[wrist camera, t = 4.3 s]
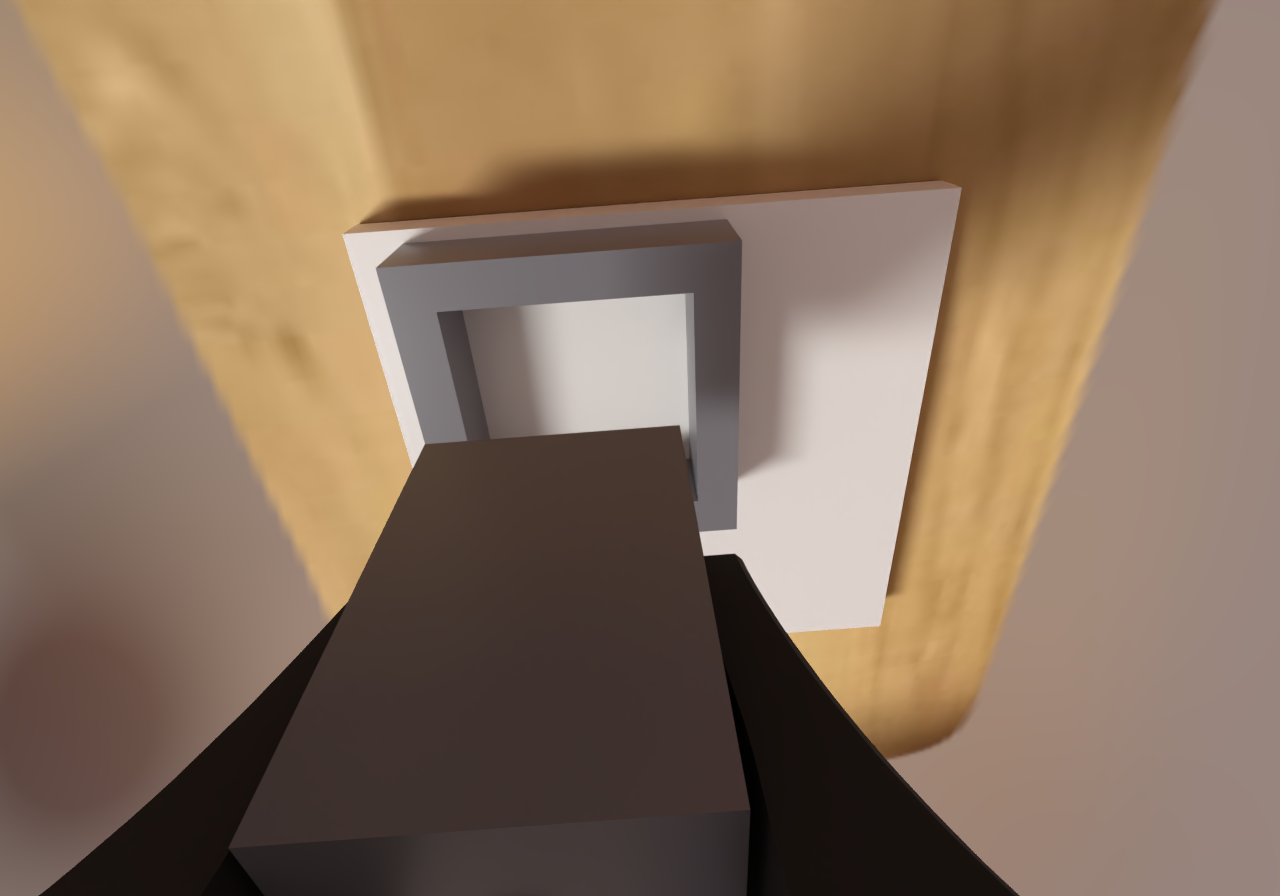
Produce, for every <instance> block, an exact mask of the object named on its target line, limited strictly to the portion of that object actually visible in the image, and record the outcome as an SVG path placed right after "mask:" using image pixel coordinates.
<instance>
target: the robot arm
mask: <svg viewBox="0 0 1280 896" xmlns="http://www.w3.org/2000/svg"><path fill="white" fill-rule="evenodd" d="M704 560H705V566H706V571H707V577H708V582H709V588H710V593H711V599H712V604H713V609H714V615H715V620H716V626H717V631H718V637H719V642H720V647H721V653H722V658H723V664H724V669H725V675H726V680H727V686H728V691H729V696H730V702H731V707H732V713H733V718H734V724H735V729H736V734H737V740H738V745H739V751H740V756H741V762H742V767H743V773H744V778H745V783H746V789H747V794H748V800H749V805H750V829H749V851H748V872H747V894H746V896H1019V895H1018V894H1017V893H1016V892H1015V891H1014V890H1013V889H1012V888H1011V887H1009V885H1007V884H1006V883H1005V882H1004V881H1003V880H1002V879H1001V878H1000V877H999V876H998V875H997V874H996V873H994V871H993V870H991V869H990V868H989V867H988V866H987V865H986V864H985V863H984V862H983V861H982V860H981V859H980V858H979V857H978V856H977V855H976V854H975V853H974V852H973V851H972V850H971V849H970V848H969V847H968V846H967V845H966V844H965V843H964V842H963V841H962V840H961V839H960V838H959V837H958V836H957V835H956V834H955V833H954V832H953V831H952V830H951V829H950V828H949V827H948V826H947V825H946V823H945V822H943V820H942V819H941V818H940V817H939V816H938V815H937V814H936V813H935V812H934V811H933V810H932V809H931V808H930V807H929V806H928V805H927V804H926V803H925V802H924V801H923V799H922V798H921V797H920V796H919V795H918V794H917V793H916V792H915V791H914V790H913V789H912V788H911V787H910V785H909V784H908V783H907V782H906V781H905V780H904V779H903V778H902V777H901V776H900V775H899V774H898V772H897V771H896V770H895V769H894V768H893V767H892V766H891V764H890V763H889V762H888V761H887V760H886V759H885V758H884V757H883V755H882V754H881V753H880V752H879V751H878V750H877V748H876V747H875V746H874V745H873V744H872V743H871V741H870V740H869V739H868V738H867V737H866V736H865V734H864V733H863V732H862V731H861V730H860V728H859V727H858V726H857V725H856V723H855V722H854V721H853V720H852V719H851V717H850V716H849V715H848V714H847V713H846V711H845V710H844V709H843V708H842V706H841V705H840V704H839V703H838V701H837V700H836V699H835V698H834V696H833V695H832V694H831V692H830V691H829V690H828V689H827V687H826V686H825V685H824V683H823V682H822V681H821V680H820V678H819V677H818V675H817V674H816V673H815V671H814V670H813V669H812V667H811V666H810V665H809V663H808V662H807V660H806V659H805V658H804V656H803V655H802V654H801V652H800V651H799V650H798V648H797V647H796V645H795V644H794V643H793V641H792V640H791V638H790V637H789V635H788V634H787V633H786V631H785V630H784V628H783V627H782V625H781V624H780V622H779V621H778V619H777V618H776V616H775V615H774V613H773V612H772V610H771V608H770V607H769V605H768V604H767V602H766V601H765V599H764V597H763V596H762V594H761V592H760V591H759V589H758V587H757V586H756V584H755V582H754V581H753V579H752V577H751V575H750V573H749V572H748V570H747V568H746V566H745V564H744V562H743V560H742V559H741V558H740V557H739V556H737V555H736V554H722V555H709V556H704ZM347 603H348V602H347ZM346 605H347V604H346ZM346 605H345V606H344V607H343V608H342V609H341V610H340V611H339V612H338V613H337V614H336V615H335V616H334V617H333V619H332V620H331V621H330V622H329V623H328V624H327V625H326V626H325V627H324V628H323V629H322V630H321V631H320V633H319V634H318V635H317V636H316V637H315V638H314V639H313V640H312V641H311V642H310V643H309V644H308V645H307V646H306V648H305V649H304V650H303V651H302V652H301V653H300V654H299V655H298V656H297V657H296V658H295V659H294V660H293V661H292V662H291V663H290V664H289V666H288V667H286V669H285V670H284V671H283V672H282V673H281V674H280V675H279V676H278V677H277V678H276V679H275V680H274V681H273V682H272V683H271V684H270V685H269V686H268V687H267V688H266V689H265V690H264V691H263V693H262V694H261V695H260V696H259V697H258V698H257V699H256V700H255V701H254V702H253V703H252V704H251V705H250V706H249V707H248V708H247V709H246V710H245V711H244V712H243V713H242V714H241V715H240V716H239V717H238V718H237V719H236V720H235V721H234V722H233V723H232V724H231V725H229V726H228V727H227V728H226V729H225V730H224V731H223V732H222V733H221V734H220V735H219V736H218V737H217V738H216V739H215V740H214V741H213V742H212V743H211V744H210V745H209V746H208V747H207V748H206V749H205V750H204V751H203V752H202V753H201V754H199V756H197V758H195V759H194V760H193V761H192V762H191V763H190V764H189V765H188V766H187V767H186V768H185V769H184V770H183V771H182V772H181V773H180V774H179V775H178V776H177V777H176V778H175V779H174V780H173V781H172V782H171V783H169V784H168V785H167V786H166V787H165V788H164V789H163V790H162V791H161V792H160V793H158V794H157V795H156V796H155V797H154V798H153V799H152V800H151V801H150V802H148V803H147V804H146V805H145V806H144V807H143V808H142V809H141V810H140V811H138V812H137V813H136V814H135V815H134V816H133V817H132V818H131V819H129V820H128V821H127V822H126V823H125V824H124V825H123V826H121V827H120V828H119V829H118V830H117V831H116V832H114V833H113V834H112V835H111V836H110V837H109V838H107V839H106V840H105V841H104V842H103V843H102V844H100V845H99V846H98V847H97V848H96V849H94V850H93V851H92V852H91V853H90V854H89V855H88V856H86V857H85V858H84V859H83V860H82V861H81V862H79V863H78V864H77V865H76V866H75V867H74V868H72V869H71V870H70V871H69V872H67V873H66V874H65V875H64V876H63V877H61V878H60V879H59V880H58V881H57V882H56V883H54V884H53V885H52V886H51V887H50V888H48V889H47V890H46V891H44V892H43V893H42V894H40V895H39V896H264V894H263V893H262V892H261V891H260V889H259V888H258V887H257V885H256V884H255V883H254V881H253V880H252V879H251V877H250V876H249V875H248V873H247V872H246V871H245V870H244V868H243V867H242V866H241V864H240V863H239V862H238V860H237V859H236V858H235V856H234V855H233V854H232V852H231V851H230V850H229V849H228V848H229V846H230V844H231V842H232V839H233V837H234V835H235V833H236V831H237V829H238V827H239V825H240V823H241V821H242V819H243V817H244V815H245V813H246V811H247V809H248V807H249V805H250V802H251V800H252V798H253V796H254V794H255V792H256V790H257V788H258V786H259V784H260V782H261V780H262V778H263V776H264V774H265V772H266V770H267V767H268V765H269V763H270V761H271V759H272V757H273V755H274V753H275V751H276V749H277V747H278V745H279V743H280V741H281V739H282V737H283V735H284V733H285V730H286V728H287V726H288V724H289V722H290V720H291V718H292V716H293V714H294V712H295V710H296V708H297V706H298V704H299V702H300V700H301V698H302V696H303V693H304V691H305V689H306V687H307V685H308V683H309V681H310V679H311V677H312V675H313V673H314V671H315V669H316V667H317V665H318V663H319V661H320V658H321V656H322V654H323V652H324V650H325V648H326V646H327V644H328V642H329V640H330V638H331V636H332V634H333V632H334V630H335V628H336V626H337V624H338V621H339V619H340V617H341V615H342V613H343V611H344V609H345V607H346Z"/></svg>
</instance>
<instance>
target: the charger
mask: <svg viewBox="0 0 1280 896" xmlns="http://www.w3.org/2000/svg"><path fill="white" fill-rule="evenodd" d="M749 829H750V805H749V800H748V794H747V789H746V783H745V778H744V773H743V767H742V762H741V756H740V751H739V745H738V740H737V734H736V729H735V724H734V718H733V713H732V707H731V702H730V696H729V691H728V686H727V680H726V675H725V669H724V664H723V658H722V653H721V647H720V642H719V637H718V631H717V626H716V620H715V615H714V609H713V604H712V599H711V593H710V588H709V582H708V577H707V571H706V566H705V560H704V555H703V550H702V544H701V539H700V533H699V528H698V522H697V517H696V512H695V506H694V501H693V495H692V490H691V484H690V479H689V473H688V468H687V463H686V457H685V452H684V446H683V441H682V435H681V430H680V425H675V426H661V427H648V428H634V429H621V430H607V431H594V432H581V433H567V434H554V435H540V436H527V437H514V438H500V439H487V440H473V441H460V442H447V443H433V444H425V445H424V447H423V449H422V451H421V453H420V455H419V457H418V459H417V461H416V463H415V465H414V467H413V469H412V471H411V473H410V475H409V478H408V480H407V482H406V484H405V486H404V488H403V490H402V492H401V494H400V496H399V498H398V500H397V502H396V504H395V506H394V508H393V510H392V512H391V515H390V517H389V519H388V521H387V523H386V525H385V527H384V529H383V531H382V533H381V535H380V537H379V539H378V541H377V543H376V545H375V547H374V549H373V552H372V554H371V556H370V558H369V560H368V562H367V564H366V566H365V568H364V570H363V572H362V574H361V576H360V578H359V580H358V582H357V584H356V587H355V589H354V591H353V593H352V595H351V597H350V599H349V601H348V603H347V605H346V607H345V609H344V611H343V613H342V615H341V617H340V619H339V621H338V624H337V626H336V628H335V630H334V632H333V634H332V636H331V638H330V640H329V642H328V644H327V646H326V648H325V650H324V652H323V654H322V656H321V658H320V661H319V663H318V665H317V667H316V669H315V671H314V673H313V675H312V677H311V679H310V681H309V683H308V685H307V687H306V689H305V691H304V693H303V696H302V698H301V700H300V702H299V704H298V706H297V708H296V710H295V712H294V714H293V716H292V718H291V720H290V722H289V724H288V726H287V728H286V730H285V733H284V735H283V737H282V739H281V741H280V743H279V745H278V747H277V749H276V751H275V753H274V755H273V757H272V759H271V761H270V763H269V765H268V767H267V770H266V772H265V774H264V776H263V778H262V780H261V782H260V784H259V786H258V788H257V790H256V792H255V794H254V796H253V798H252V800H251V802H250V805H249V807H248V809H247V811H246V813H245V815H244V817H243V819H242V821H241V823H240V825H239V827H238V829H237V831H236V833H235V835H234V837H233V839H232V842H231V844H230V846H229V848H228V849H229V850H230V851H231V852H232V854H233V855H234V856H235V858H236V859H237V860H238V862H239V863H240V864H241V866H242V867H243V868H244V870H245V871H246V872H247V873H248V875H249V876H250V877H251V879H252V880H253V881H254V883H255V884H256V885H257V887H258V888H259V889H260V891H261V892H262V893H263V894H264V896H746V894H747V872H748V851H749Z"/></svg>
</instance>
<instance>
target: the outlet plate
mask: <svg viewBox="0 0 1280 896" xmlns="http://www.w3.org/2000/svg"><path fill="white" fill-rule="evenodd" d="M961 190H962V187H959V186H956V185H954V184H951V183H948V182H945V181H943V180H940V181H927V182H914V183H901V184H887V185H874V186H861V187H847V188H834V189H821V190H807V191H794V192H781V193H768V194H754V195H741V196H728V197H714V198H701V199H688V200H675V201H661V202H648V203H635V204H621V205H608V206H595V207H582V208H568V209H555V210H542V211H528V212H515V213H502V214H488V215H475V216H462V217H449V218H435V219H422V220H409V221H395V222H382V223H369V224H357V225H356V226H354V227H353V228H351V229H350V230H348V231H347V232H345V233H344V234H342V235H343V238H344V241H345V245H346V248H347V251H348V255H349V258H350V261H351V265H352V268H353V271H354V275H355V278H356V281H357V284H358V288H359V291H360V294H361V298H362V301H363V304H364V308H365V311H366V314H367V318H368V321H369V324H370V328H371V331H372V334H373V338H374V341H375V344H376V348H377V351H378V354H379V358H380V361H381V364H382V368H383V371H384V374H385V378H386V381H387V384H388V388H389V391H390V394H391V398H392V401H393V404H394V408H395V411H396V414H397V418H398V421H399V424H400V428H401V431H402V434H403V438H404V441H405V444H406V448H407V451H408V454H409V458H410V461H411V464H412V468H413V467H414V465H415V463H416V461H417V459H418V457H419V455H420V453H421V451H422V449H423V447H424V445H425V444H433V443H447V442H460V441H473V440H487V439H500V438H514V437H527V436H540V435H554V434H567V433H581V432H594V431H607V430H621V429H634V428H648V427H661V426H675V425H680V430H681V435H682V441H683V446H684V452H685V457H686V463H687V468H688V473H689V479H690V484H691V490H692V495H693V501H694V506H695V512H696V517H697V522H698V528H699V533H700V539H701V544H702V550H703V555H704V556H709V555H722V554H736V555H737V556H739V557H740V558H741V559H742V560H743V562H744V564H745V566H746V568H747V570H748V572H749V573H750V575H751V577H752V579H753V581H754V582H755V584H756V586H757V587H758V589H759V591H760V592H761V594H762V596H763V597H764V599H765V601H766V602H767V604H768V605H769V607H770V608H771V610H772V612H773V613H774V615H775V616H776V618H777V619H778V621H779V622H780V624H781V625H782V627H783V628H784V630H785V631H786V633H792V632H805V631H819V630H832V629H846V628H860V627H873V626H880V624H881V618H882V613H883V607H884V602H885V597H886V591H887V586H888V581H889V575H890V570H891V565H892V559H893V554H894V549H895V543H896V538H897V533H898V527H899V522H900V516H901V511H902V506H903V500H904V495H905V490H906V484H907V479H908V474H909V468H910V463H911V458H912V452H913V447H914V442H915V436H916V431H917V425H918V420H919V415H920V409H921V404H922V399H923V393H924V388H925V383H926V377H927V372H928V367H929V361H930V356H931V351H932V345H933V340H934V334H935V329H936V324H937V318H938V313H939V308H940V302H941V297H942V292H943V286H944V281H945V276H946V270H947V265H948V260H949V254H950V249H951V244H952V238H953V233H954V227H955V222H956V217H957V211H958V206H959V201H960V195H961Z"/></svg>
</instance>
